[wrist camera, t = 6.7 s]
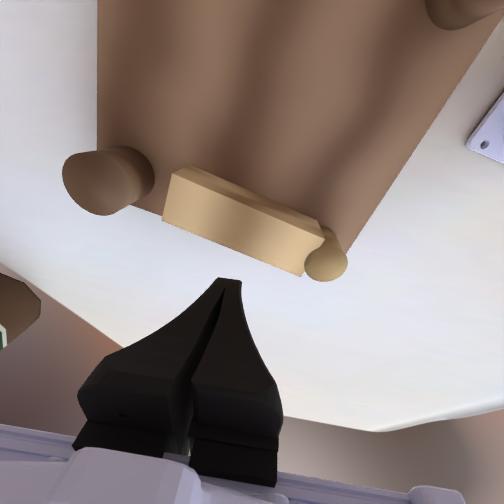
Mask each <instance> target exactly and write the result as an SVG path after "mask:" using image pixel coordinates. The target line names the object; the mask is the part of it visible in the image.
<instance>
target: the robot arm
mask: <svg viewBox="0 0 504 504" xmlns="http://www.w3.org/2000/svg"><path fill="white" fill-rule="evenodd" d="M483 141H485V144H484V146H483V147H481V148H480V145H481V143H482V142H483ZM466 146H467V148H468V149H470V150H472V151H475V152H477V153H479V154H482V155H484V156H486V157H488V158H491V159H493V160H495V161H498V162H500V163H502V164H504V92H503V93H502V95H501V96H500V97H499V99H498V100H497V101H496V103H495V104H494V105H493V107H492V108H491V109H490V111H489V112H488V113H487V115H486V116H485V117H484V119H483V120H482V121H481V123H480V124H479V125H478V127H477V128H476V129H475V131H474V132H473V133H472V135H471V136H470V137H469V139H468V140H467V143H466ZM241 287H242V282H241V281H240V280H234V279H226V278H219V277H218V278H217V279H216V280H215V281H214V282H213V283H212V284H211V286H210V287H209V288H208V289H207V290H206V291H205V292H204V293H203V294H202V295H201V296H200V297H199V298H198V299H197V300H196V301H195V302H194V303H193V304H192V305H190V306H189V307H188V308H187V309H186V310H185V311H184V312H182V313H181V314H180V315H179V316H177V317H176V318H175V319H173V320H172V321H171V322H169V323H168V324H166V325H165V326H163V327H162V328H160V329H159V330H157V331H155V332H154V333H152V334H150V335H149V336H147V337H145V338H143V339H141V340H140V341H138V342H136V343H134V344H132V345H130V346H128V347H125V348H123V349H121V350H119V351H116V352H114V353H112V354H110V355H107V356H106V357H104V359H103V360H102V361H101V362H100V363H99V364H98V365H97V367H96V368H95V369H94V371H93V372H92V373H91V375H90V376H89V377H88V378H87V380H86V381H85V382H84V384H83V385H82V387H81V388H80V389H79V391H78V394H77V398H78V401H79V404H80V406H81V408H82V410H83V412H84V414H85V415H86V418H87V422H86V424H85V425H84V427H83V428H82V430H81V431H80V433H79V435H78V436H77V437H73V436H68V435H62V434H56V433H50V432H44V431H38V430H32V429H27V428H21V427H15V426H9V425H3V424H0V504H466V503H465V501H464V499H463V497H462V495H461V493H459V492H458V491H456V490H450V489H443V488H438V487H431V486H423V485H421V486H416V487H413V488H412V489H411V490H410V491H409V493H408V494H407V493H401V492H395V491H390V490H384V489H378V488H372V487H366V486H360V485H354V484H348V483H342V482H337V481H331V480H325V479H319V478H313V477H307V476H302V475H296V474H290V473H284V472H278V471H277V452H278V445H279V433H280V430H281V427H282V424H283V410H282V404H281V399H280V395H279V392H278V388H277V385H276V382H275V380H274V379H273V377H272V376H271V374H270V372H269V371H268V369H267V367H266V365H265V364H264V362H263V360H262V358H261V356H260V354H259V352H258V350H257V348H256V345H255V343H254V341H253V338H252V336H251V333H250V330H249V328H248V324H247V321H246V317H245V314H244V309H243V304H242V297H241ZM189 449H190V453H191V456H188V453H189Z"/></svg>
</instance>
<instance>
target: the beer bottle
mask: <svg viewBox="0 0 504 504" xmlns="http://www.w3.org/2000/svg"><path fill="white" fill-rule="evenodd" d="M40 308H41V300H40V299H39V298H38V297H37V296H36V295H35V294H34V293H33V292H32V290H30V288H29V287H28V286H27V285H26V284H25V283H24V282H21V281H19V280H16V279H14V278H11V277H9V276H7V275H4V274H2V273H0V350H2V349H3V348H4V347H5V346H7V345H8V344H9V343H10V342H11V341H13V340H14V339H15V338H16V337H17V336H18V335H20V334H21V333H22V332H23V331H25V330H26V329H27V328H28V327H29V326H30V325H31V324H33V323H34V322H35V321H36V320H37V319H38V318H39V316H40Z"/></svg>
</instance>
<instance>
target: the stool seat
mask: <svg viewBox="0 0 504 504" xmlns="http://www.w3.org/2000/svg"><path fill="white" fill-rule="evenodd" d="M503 15H504V0H98V35H97V150H96V151H90V152H83V153H77V154H74V155H72V156H70V157H69V158H68V159H67V160H66V161H65V163H64V165H63V169H62V177H63V182H64V185H65V188H66V190H67V191H68V193H69V195H70V196H71V197H72V199H73V200H74V201H75V202H76V203H77V204H78V205H79V206H81V207H82V208H83V209H85V210H86V211H88V212H90V213H93V214H96V215H102V216H106V215H111V214H114V213H115V212H117V211H119V210H121V209H123V208H124V207H126V206H128V205H132V206H135V207H138V208H141V209H144V210H146V211H149V212H152V213H155V214H158V215H160V216H163V212H164V207H165V203H166V198H167V194H168V189H169V185H170V180H171V176H172V173H174V172H176V171H178V170H180V169H182V168H184V167H186V166H188V165H192V166H195V167H197V168H199V169H201V170H204V171H206V172H208V173H211V174H213V175H215V176H217V177H220V178H222V179H224V180H226V181H229V182H231V183H233V184H236V185H238V186H240V187H242V188H245V189H247V190H249V191H251V192H254V193H256V194H258V195H261V196H263V197H265V198H267V199H270V200H272V201H274V202H277V203H279V204H281V205H283V206H286V207H288V208H290V209H292V210H295V211H297V212H299V213H302V214H304V215H306V216H308V217H311V218H313V219H315V220H317V221H318V223H319V226H323V227H327V228H329V229H331V230H332V231H333V232H334V233H335V235H336V237H337V239H338V241H339V243H340V245H341V247H342V249H343V251H344V253H345V254H346V253H347V251H348V250H349V248H350V247H351V245H352V244H353V242H354V241H355V239H356V238H357V236H358V235H359V233H360V232H361V230H362V229H363V227H364V226H365V224H366V223H367V221H368V220H369V218H370V217H371V215H372V214H373V212H374V211H375V209H376V208H377V206H378V205H379V203H380V201H381V200H382V198H383V197H384V195H385V194H386V192H387V191H388V189H389V188H390V186H391V185H392V183H393V182H394V180H395V179H396V177H397V176H398V174H399V173H400V171H401V170H402V168H403V167H404V165H405V164H406V162H407V161H408V159H409V158H410V156H411V155H412V153H413V151H414V150H415V148H416V147H417V145H418V144H419V142H420V141H421V139H422V138H423V136H424V135H425V133H426V132H427V130H428V129H429V127H430V126H431V124H432V123H433V121H434V120H435V118H436V117H437V115H438V114H439V112H440V111H441V109H442V108H443V106H444V105H445V103H446V102H447V100H448V98H449V97H450V95H451V94H452V92H453V91H454V89H455V88H456V86H457V85H458V83H459V82H460V80H461V79H462V77H463V76H464V74H465V73H466V71H467V70H468V68H469V67H470V65H471V64H472V62H473V61H474V59H475V58H476V56H477V55H478V53H479V52H480V50H481V48H482V47H483V45H484V44H485V42H486V41H487V39H488V38H489V36H490V35H491V33H492V32H493V30H494V29H495V27H496V26H497V24H498V23H499V21H500V20H501V18H502V17H503Z"/></svg>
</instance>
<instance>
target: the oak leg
mask: <svg viewBox="0 0 504 504" xmlns="http://www.w3.org/2000/svg"><path fill="white" fill-rule="evenodd" d="M162 221H164V222H166V223H169V224H171V225H174V226H176V227H179V228H181V229H184V230H186V231H189V232H191V233H193V234H196V235H198V236H201V237H203V238H206V239H208V240H211V241H213V242H216V243H218V244H221V245H223V246H226V247H228V248H230V249H233V250H235V251H238V252H240V253H243V254H245V255H248V256H250V257H253V258H255V259H258V260H260V261H262V262H265V263H267V264H270V265H272V266H275V267H277V268H280V269H282V270H285V271H287V272H290V273H292V274H295V275H297V276H299V277H301V275H302V274H303V272H304V271H305V272H306V273H307V275H308V276H309V277H310V278H312V279H314V280H316V281H321V282H327V281H332V280H334V279H337V278H338V277H340V276H341V275H342V274H343V273H344V271H345V270H346V268H347V264H348V261H347V257H346V255H345V253H344V251H343V249H342V247H341V245H340V243H339V241H338V239H337V237H336V235H335V233H334V232H333V231H332V230H331V229H329V228H327V227H323V226H319V223H318V221H317V220H315V219H313V218H311V217H308V216H306V215H304V214H302V213H299V212H297V211H295V210H292V209H290V208H288V207H286V206H283V205H281V204H279V203H277V202H274V201H272V200H270V199H267V198H265V197H263V196H261V195H258V194H256V193H254V192H251V191H249V190H247V189H245V188H242V187H240V186H238V185H236V184H233V183H231V182H229V181H226V180H224V179H222V178H220V177H217V176H215V175H213V174H211V173H208V172H206V171H204V170H201V169H199V168H197V167H195V166H192V165H188V166H186V167H184V168H182V169H180V170H178V171H176V172H174V173H172V176H171V180H170V185H169V189H168V194H167V198H166V203H165V207H164V212H163V216H162Z"/></svg>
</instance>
